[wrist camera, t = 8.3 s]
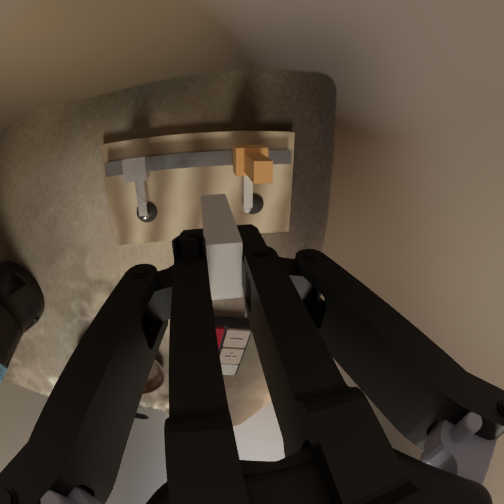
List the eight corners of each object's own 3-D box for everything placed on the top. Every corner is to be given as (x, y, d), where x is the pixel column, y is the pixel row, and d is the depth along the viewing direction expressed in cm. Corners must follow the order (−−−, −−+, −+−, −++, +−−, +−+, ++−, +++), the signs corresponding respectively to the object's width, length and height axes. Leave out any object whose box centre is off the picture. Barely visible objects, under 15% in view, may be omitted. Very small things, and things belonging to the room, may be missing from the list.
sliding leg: (231, 209, 40) (243, 242, 31) (231, 143, 35) (244, 155, 26) (258, 208, 41) (278, 240, 32) (259, 143, 36) (282, 155, 27)
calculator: (254, 330, 52) (236, 377, 57) (249, 316, 55) (233, 364, 61) (197, 325, 48) (188, 375, 54) (196, 311, 52) (187, 361, 58)
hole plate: (118, 240, 41) (116, 245, 40) (103, 143, 33) (100, 145, 32) (285, 227, 46) (289, 231, 44) (291, 131, 38) (295, 132, 37)
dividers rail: (116, 218, 38) (108, 232, 33) (108, 157, 33) (96, 163, 29) (284, 205, 42) (295, 217, 38) (287, 145, 38) (299, 150, 33)
